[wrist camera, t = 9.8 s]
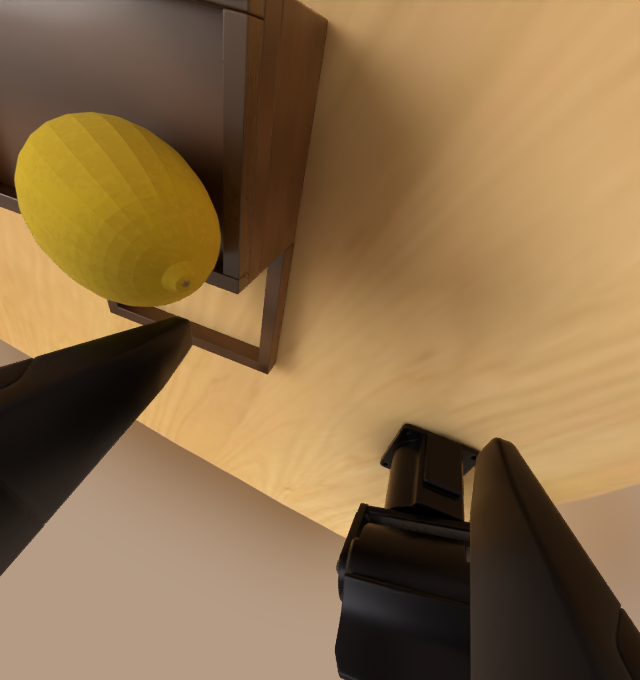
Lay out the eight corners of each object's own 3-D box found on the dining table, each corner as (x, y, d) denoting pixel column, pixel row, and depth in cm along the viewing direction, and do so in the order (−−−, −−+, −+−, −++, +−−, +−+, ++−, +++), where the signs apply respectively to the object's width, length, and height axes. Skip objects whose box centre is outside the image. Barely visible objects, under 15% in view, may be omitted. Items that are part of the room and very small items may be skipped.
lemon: (149, 86, 12) (276, 194, 10) (153, 216, 16) (245, 319, 14) (-58, 50, 9) (56, 208, 6) (11, 230, 12) (99, 373, 10)
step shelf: (275, 363, 27) (233, 428, 22) (123, 303, 29) (50, 350, 23) (328, 19, 13) (250, -31, 8) (33, -55, 15) (-192, -137, 10)
